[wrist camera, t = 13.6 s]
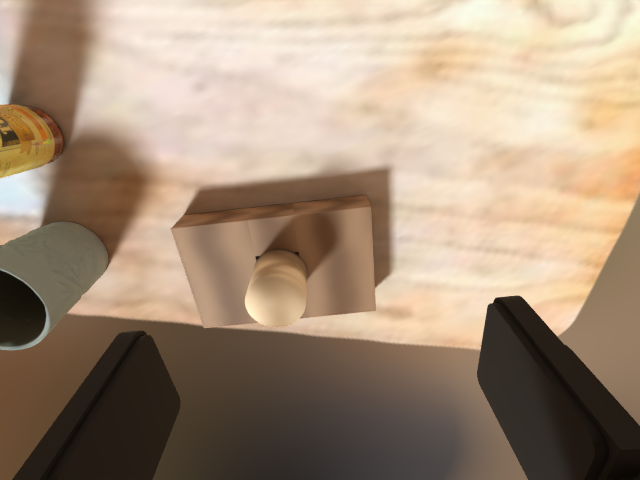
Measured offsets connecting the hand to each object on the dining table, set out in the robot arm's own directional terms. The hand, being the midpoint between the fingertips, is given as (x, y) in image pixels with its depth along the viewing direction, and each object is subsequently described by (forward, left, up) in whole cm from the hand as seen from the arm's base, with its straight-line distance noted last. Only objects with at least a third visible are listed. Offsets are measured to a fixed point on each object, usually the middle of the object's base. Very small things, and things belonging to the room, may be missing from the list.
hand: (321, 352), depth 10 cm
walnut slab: (+6, +13, -31) cm, 34 cm away
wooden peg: (+6, +13, -30) cm, 33 cm away
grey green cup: (+32, +9, -31) cm, 45 cm away
